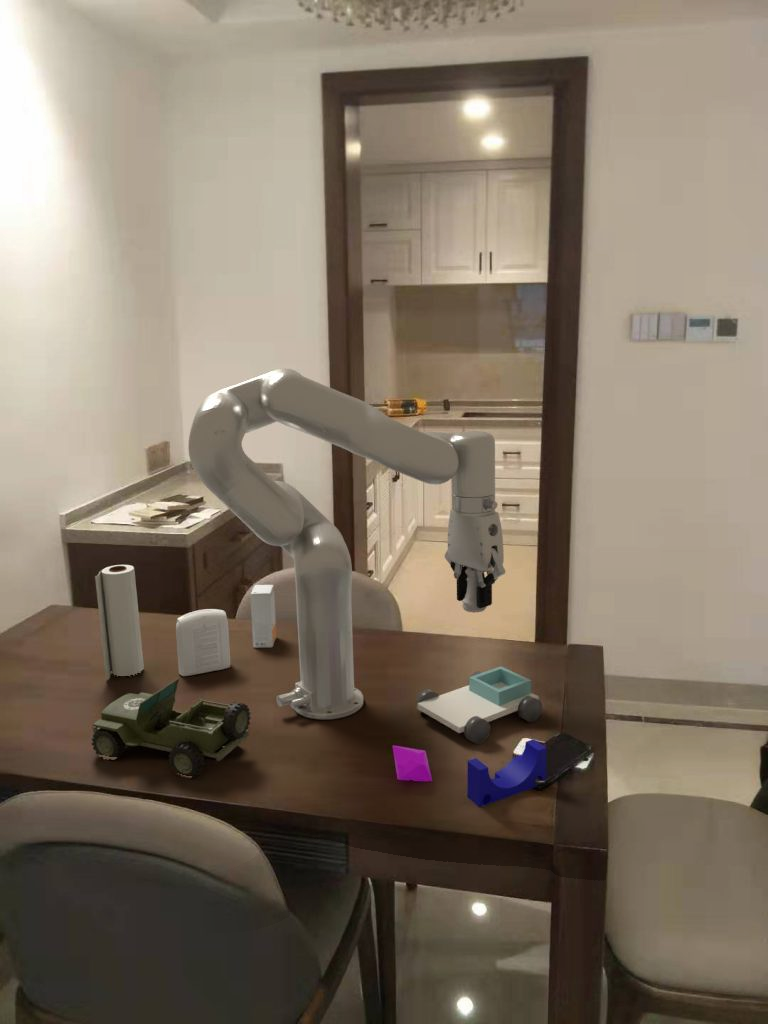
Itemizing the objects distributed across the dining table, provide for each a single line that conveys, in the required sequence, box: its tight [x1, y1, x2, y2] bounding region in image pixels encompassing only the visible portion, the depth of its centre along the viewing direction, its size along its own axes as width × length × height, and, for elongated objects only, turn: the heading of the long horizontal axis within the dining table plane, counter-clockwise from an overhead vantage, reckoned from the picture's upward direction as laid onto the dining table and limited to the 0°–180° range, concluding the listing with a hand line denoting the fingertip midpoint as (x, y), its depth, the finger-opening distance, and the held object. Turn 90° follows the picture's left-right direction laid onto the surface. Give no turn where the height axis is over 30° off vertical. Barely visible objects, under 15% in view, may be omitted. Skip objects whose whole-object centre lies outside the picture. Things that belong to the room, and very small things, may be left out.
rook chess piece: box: [461, 567, 488, 613], centre depth 156 cm, size 4×4×8 cm
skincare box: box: [249, 584, 277, 649], centre depth 184 cm, size 6×4×12 cm
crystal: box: [392, 745, 433, 782], centre depth 132 cm, size 5×5×5 cm
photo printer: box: [175, 608, 231, 677], centre depth 171 cm, size 10×4×12 cm, turn 116°
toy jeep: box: [91, 677, 251, 778], centre depth 140 cm, size 12×25×11 cm, turn 67°
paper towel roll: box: [94, 564, 145, 680], centre depth 170 cm, size 7×6×21 cm
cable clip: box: [466, 739, 548, 808], centre depth 129 cm, size 12×4×6 cm, turn 119°
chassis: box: [415, 666, 543, 745], centre depth 151 cm, size 18×15×6 cm
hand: (474, 601), depth 156 cm, fingers closed on rook chess piece, 4 cm apart
